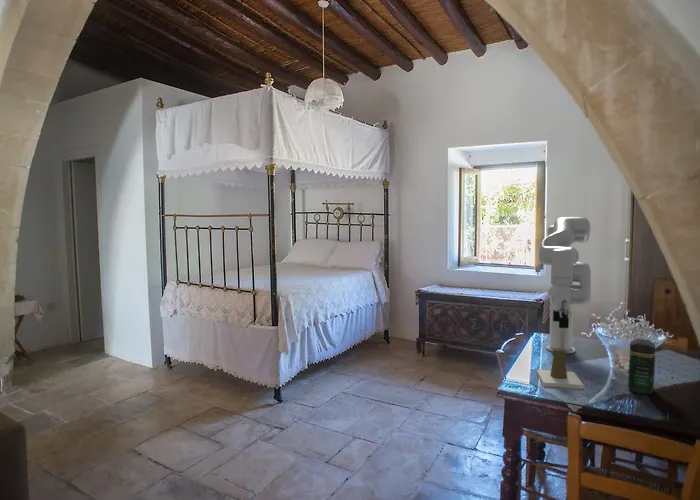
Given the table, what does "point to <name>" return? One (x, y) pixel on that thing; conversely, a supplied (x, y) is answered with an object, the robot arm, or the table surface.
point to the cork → (559, 364)
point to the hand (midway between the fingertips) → (560, 324)
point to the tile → (559, 380)
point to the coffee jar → (641, 366)
